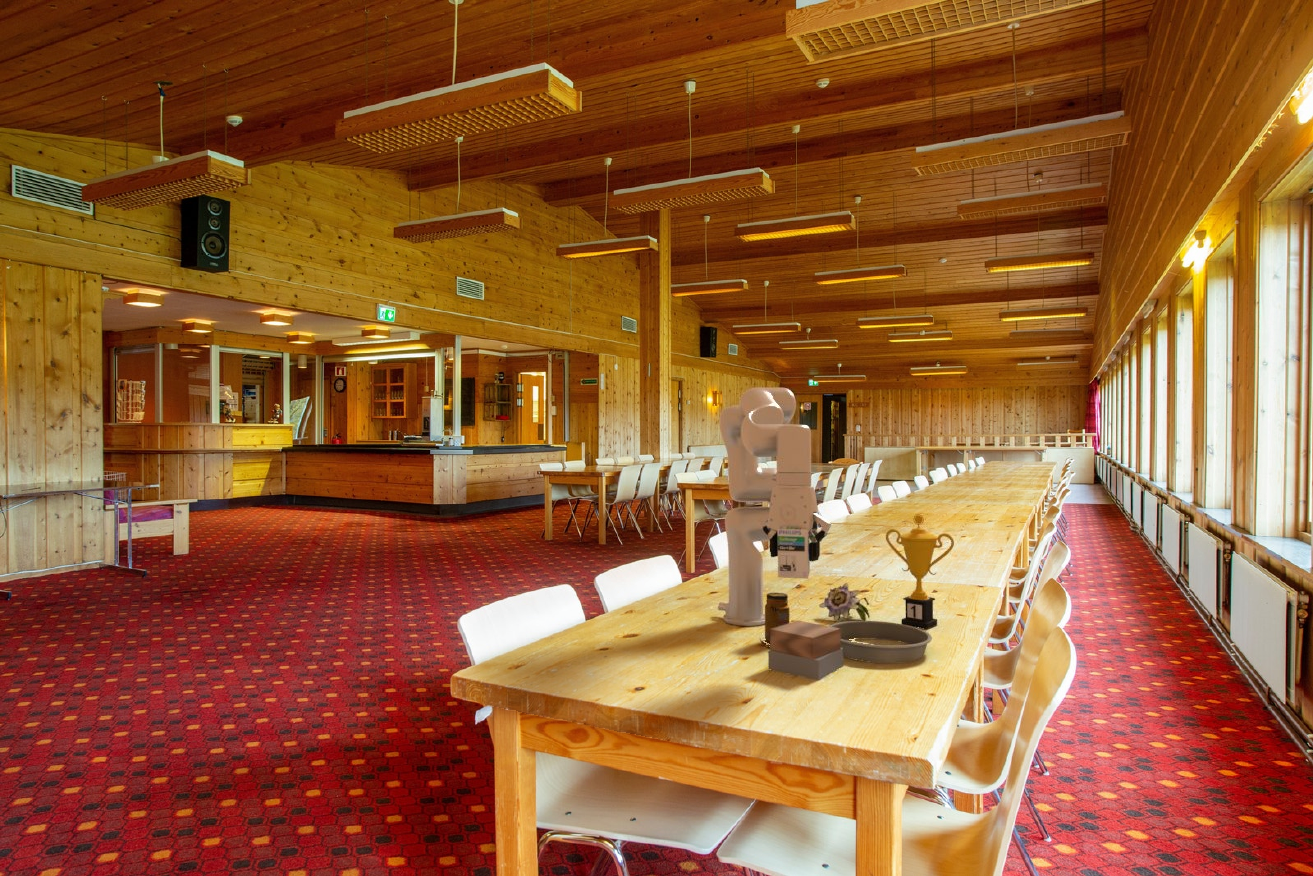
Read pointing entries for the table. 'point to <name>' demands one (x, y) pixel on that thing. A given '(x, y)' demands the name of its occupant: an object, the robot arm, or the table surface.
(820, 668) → the grey block
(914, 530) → the trophy
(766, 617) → the condiment
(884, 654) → the cake pan
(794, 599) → the table surface
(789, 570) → the light bulb box
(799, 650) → the walnut block
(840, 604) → the passion flower
